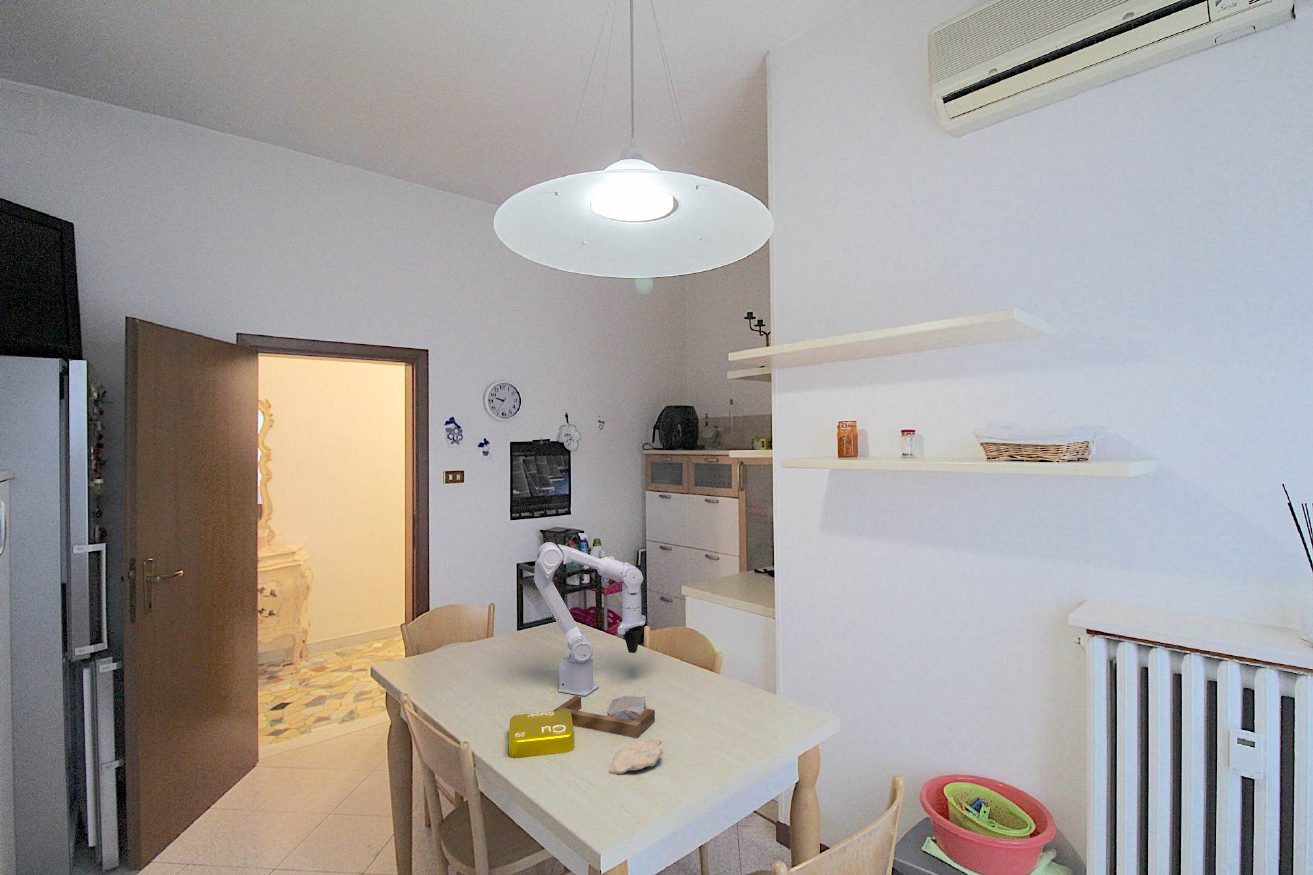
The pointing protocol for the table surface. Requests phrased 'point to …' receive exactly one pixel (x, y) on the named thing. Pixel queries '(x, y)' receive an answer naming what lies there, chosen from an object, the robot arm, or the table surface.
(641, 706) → the stone block
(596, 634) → the table surface
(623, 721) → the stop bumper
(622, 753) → the decorative stone
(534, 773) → the table surface
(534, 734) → the element tile
